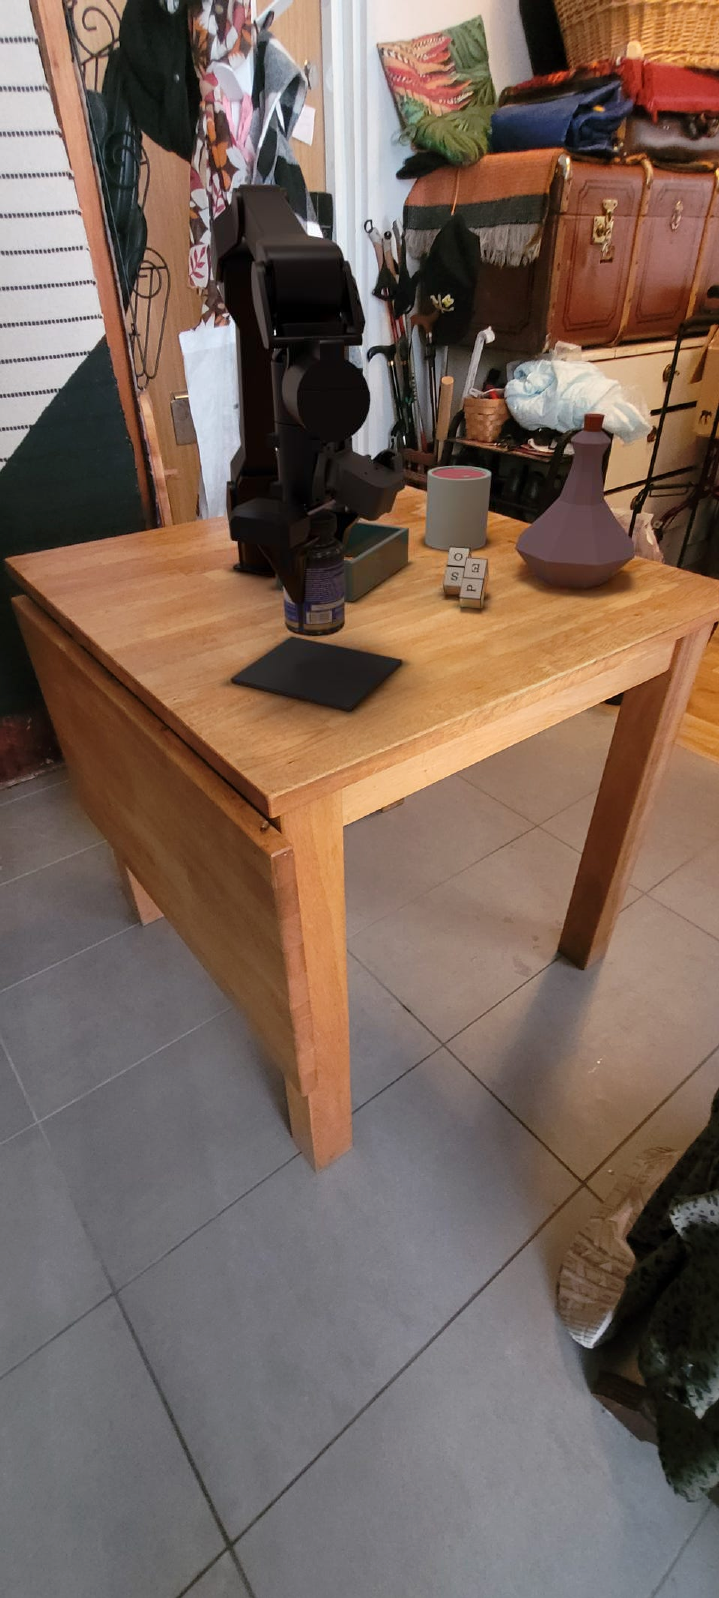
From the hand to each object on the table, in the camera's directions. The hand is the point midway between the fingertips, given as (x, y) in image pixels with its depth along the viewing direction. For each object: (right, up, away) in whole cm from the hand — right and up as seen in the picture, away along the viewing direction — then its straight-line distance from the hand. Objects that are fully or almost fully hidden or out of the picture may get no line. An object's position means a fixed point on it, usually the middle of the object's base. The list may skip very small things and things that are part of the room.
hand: (314, 592), depth 76 cm
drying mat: (0, -7, +5) cm, 9 cm away
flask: (+33, +10, +29) cm, 45 cm away
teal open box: (+2, +10, +30) cm, 32 cm away
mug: (+19, +20, +44) cm, 52 cm away
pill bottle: (0, -3, +2) cm, 4 cm away
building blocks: (+18, +5, +22) cm, 29 cm away
